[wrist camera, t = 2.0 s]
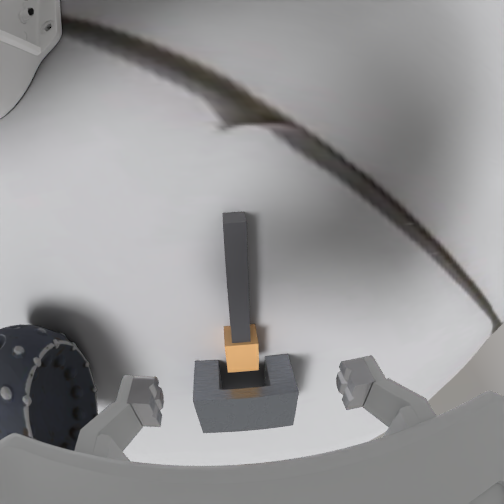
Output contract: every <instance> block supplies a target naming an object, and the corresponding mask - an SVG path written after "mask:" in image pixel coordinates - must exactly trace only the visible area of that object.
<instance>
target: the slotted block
mask: <svg viewBox="0 0 504 504" xmlns="http://www.w3.org/2000/svg"><path fill="white" fill-rule="evenodd" d="M298 393H299V391H298V388H297V384H296V381H295V377H294V374H293V370H292V367H291V363H290V360H289V356H288V354H283V355H274V356H265V386H264V387H253V388H242V389H227V390H223V388H222V382H221V376H220V369H219V362H218V360H210V361H195V370H194V390H193V402H194V406H195V409H196V412H197V415H198V418H199V421H200V424H201V427H202V430H203V433H216V432H235V431H248V430H259V429H268V428H276V427H283V426H290V425H293V422H294V417H295V411H296V405H297V399H298Z"/></svg>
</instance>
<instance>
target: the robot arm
mask: <svg viewBox="0 0 504 504" xmlns="http://www.w3.org/2000/svg"><path fill="white" fill-rule="evenodd" d="M50 27H51V28H50ZM49 28H50V30H49V31H48V29H49ZM61 35H62V25H61V11H60V0H0V118H2V117H3V116H5V115H6V114H7V113H8V112H9V111H10V110H11V109H12V108H13V107H14V106H15V105H16V104H17V102H18V101H19V100H20V98H21V97H22V96H23V94H24V92H25V91H26V89H27V88H28V86H29V84H30V82H31V80H32V78H33V76H34V74H35V72H36V70H37V68H38V66H39V64H40V63H41V61H42V59H43V58H44V57H45V56H46V55H47V54H48V53H49V52H50V51H51V50H52V49H53V47H54V46H55V45H56V44H57V43H58V41H59V40H60V38H61ZM339 368H340V370H341V371H340V372H339V373H338V374H337V378H336V382H337V388H338V391H339V392H340V393H341V394H343V398H342V401H343V403H344V405H345V408H346V410H349V409H354V408H359V407H363V408H365V409H366V410H367V411H368V412H370V413H371V414H372V415H374V416H375V417H376V418H377V419H379V420H380V421H381V422H383V423H384V424H385V425H387V426H388V427H389V428H388V430H387V431H386V433H385V435H384V436H383V437H382V438H379V439H376V440H372V441H369V442H366V443H362V444H359V445H355V446H351V447H348V448H344V449H340V450H335V451H331V452H327V453H322V454H317V455H312V456H307V457H301V458H295V459H289V460H282V461H274V462H265V463H256V464H244V465H226V466H178V465H161V464H149V463H139V462H131V461H130V460H129V459H128V458H127V457H126V455H125V454H124V453H123V450H124V449H125V448H126V447H127V446H128V444H129V443H130V442H131V441H132V440H133V438H134V437H135V436H136V435H137V434H138V432H139V431H140V430H141V429H142V428H143V427H142V426H150V427H160V426H161V418H162V414H161V412H160V410H161V409H162V408H163V403H164V401H163V392H162V389H161V388H160V387H159V386H158V384H159V381H158V379H157V377H149V376H131V375H124V377H123V378H122V381H121V385H120V388H119V391H118V395H117V399H116V402H112V403H111V404H110V405H109V406H108V407H106V408H105V409H104V410H103V411H102V412H101V413H99V414H98V415H97V416H96V417H95V418H94V419H92V420H91V421H90V422H89V423H88V424H87V425H85V426H84V427H83V428H82V429H81V430H80V433H79V436H78V440H77V443H76V446H75V450H74V451H72V450H68V449H64V448H61V447H57V446H54V445H50V444H47V443H44V442H41V441H38V440H35V439H32V438H29V437H26V436H23V435H21V434H17V433H12V434H10V435H8V436H6V437H4V438H3V439H1V440H0V504H504V396H503V395H500V394H498V393H496V392H493V391H486V392H483V393H481V394H480V395H478V396H476V397H474V398H472V399H471V400H469V401H467V402H465V403H463V404H461V405H459V406H457V407H455V408H453V409H451V410H449V411H447V412H445V413H443V414H441V415H438V416H436V414H435V413H434V411H433V409H432V408H431V406H430V404H429V403H428V401H427V399H426V398H424V397H422V396H420V395H419V394H417V393H415V392H413V391H411V390H409V389H407V388H406V387H404V386H402V385H400V384H398V383H396V382H395V381H393V380H391V379H389V378H388V379H386V378H385V376H384V374H383V373H382V371H381V369H380V367H379V366H378V364H377V362H376V361H375V359H374V357H373V356H366V357H362V358H356V359H351V360H346V361H342V362H341V363H340V366H339Z"/></svg>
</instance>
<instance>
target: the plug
mask: <svg viewBox="0 0 504 504" xmlns="http://www.w3.org/2000/svg"><path fill="white" fill-rule="evenodd" d="M223 231H224V246H225V261H226V275H227V288H228V301H229V313H230V325H231V326H224V339H225V352H226V361H227V369H228V373H229V372H243V371H254V370H259V350H258V339H257V333H256V327H255V324H251V325H250V309H249V279H248V247H247V221H246V217H245V214H244V212H231V213H223Z"/></svg>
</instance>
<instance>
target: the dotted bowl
mask: <svg viewBox="0 0 504 504" xmlns="http://www.w3.org/2000/svg"><path fill="white" fill-rule="evenodd" d="M96 391H97V388H96V386H95V385H94V381H93V377H92V374H91V371H90V368H89V362H88V360H86V359H85V357H84V356H83V354H82V353H81V351H80V350H79V349H78V348H77V346H76V344H75V343H74V342H70V341H69V340H68V339H67V337H66V336H65V335H64V334H63V333H56V332H54V331H51V330H49V329H46V328H43V327H39V326H33V325H15V326H9V327H5V328H2V329H0V440H1V439H3V438H4V437H6V436H8V435H10V434H12V433H17V434H21V435H23V436H26V437H29V438H32V439H35V440H38V441H41V442H44V443H47V444H50V445H54V446H57V447H61V448H64V449H68V450H72V451H74V450H75V446H76V443H77V440H78V436H79V433H80V430H81V429H82V428H83V427H84V426H85V425H87V424H88V423H89V422H90V421H91V420H92V419H94V418H95V417H96V416H97V415H98V410H97V398H96Z"/></svg>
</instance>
